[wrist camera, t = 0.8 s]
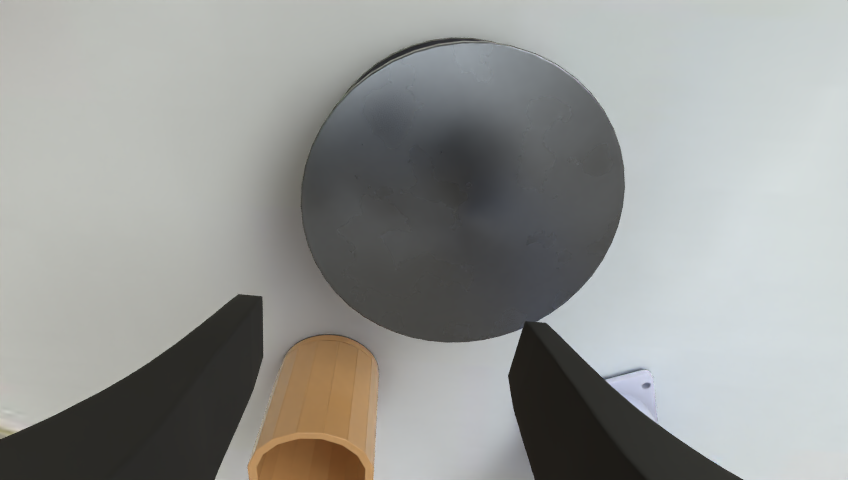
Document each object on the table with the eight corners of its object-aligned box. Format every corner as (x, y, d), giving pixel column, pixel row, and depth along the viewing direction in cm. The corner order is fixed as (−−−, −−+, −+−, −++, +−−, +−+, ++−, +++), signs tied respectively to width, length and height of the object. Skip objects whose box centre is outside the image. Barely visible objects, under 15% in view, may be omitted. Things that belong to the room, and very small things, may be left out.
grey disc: (602, 253, 23) (638, 298, 20) (374, 319, 25) (370, 372, 21) (563, -11, 18) (604, -15, 14) (268, 92, 19) (239, 112, 15)
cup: (392, 393, 27) (390, 497, 22) (306, 416, 28) (281, 524, 22) (358, 322, 25) (345, 419, 19) (264, 350, 25) (224, 452, 20)
